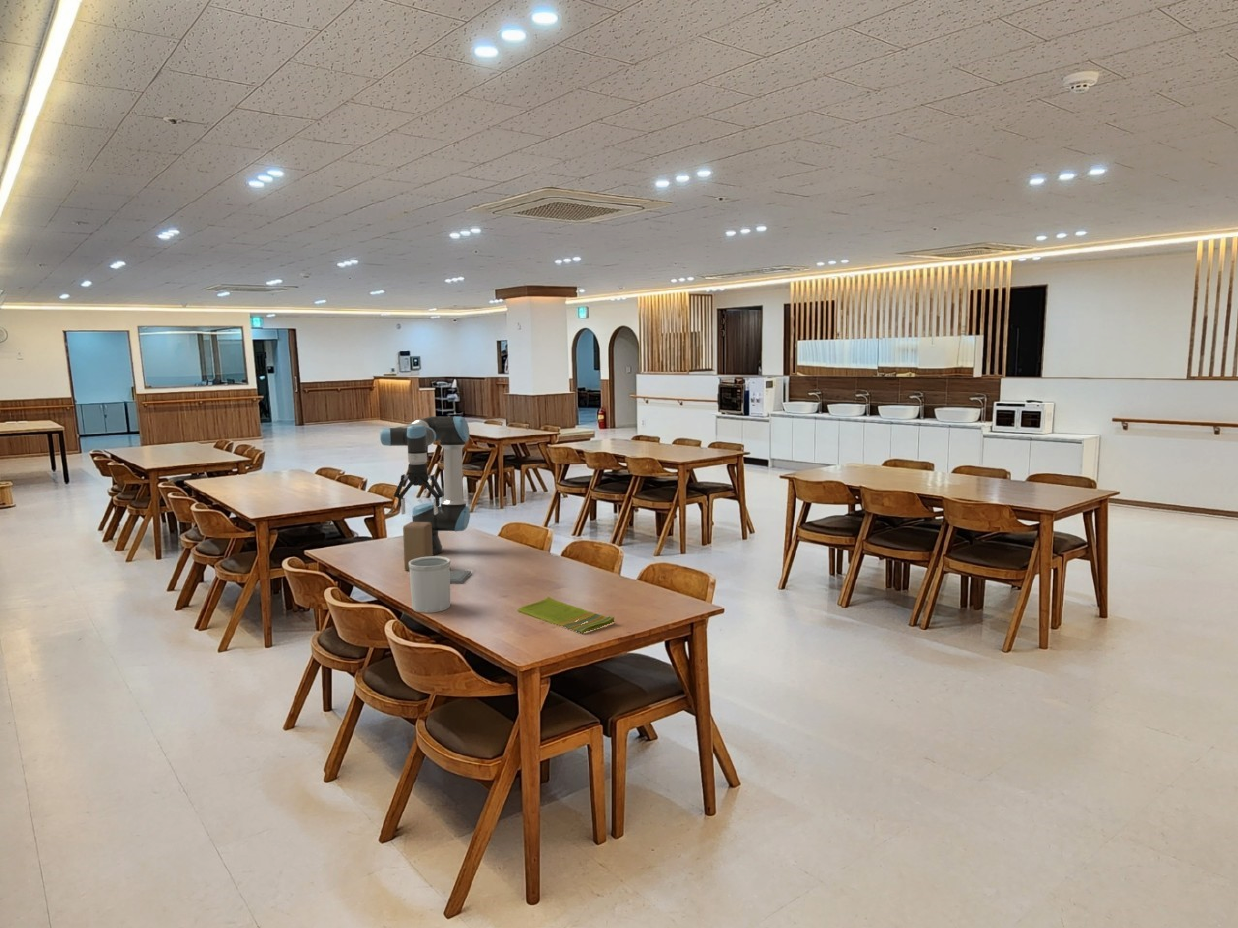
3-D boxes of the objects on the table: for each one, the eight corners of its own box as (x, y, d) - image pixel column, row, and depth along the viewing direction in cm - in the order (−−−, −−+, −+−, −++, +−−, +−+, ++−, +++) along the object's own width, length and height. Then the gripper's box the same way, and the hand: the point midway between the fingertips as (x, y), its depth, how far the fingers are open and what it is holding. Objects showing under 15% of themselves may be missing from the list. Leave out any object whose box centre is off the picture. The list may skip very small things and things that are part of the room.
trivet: (434, 572, 339) (434, 569, 339) (471, 573, 338) (471, 570, 338) (423, 582, 323) (422, 579, 323) (461, 583, 322) (461, 580, 322)
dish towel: (583, 636, 261) (583, 627, 261) (516, 612, 286) (516, 604, 286) (616, 625, 272) (616, 616, 271) (549, 603, 297) (549, 595, 296)
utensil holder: (430, 616, 281) (429, 568, 279) (401, 609, 289) (399, 562, 286) (459, 605, 293) (458, 559, 291) (431, 599, 301) (429, 554, 299)
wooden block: (433, 565, 351) (432, 521, 349) (426, 571, 341) (424, 526, 339) (412, 565, 352) (410, 521, 350) (403, 571, 342) (402, 525, 340)
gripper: (384, 464, 321) (386, 515, 324) (445, 464, 319) (447, 515, 322) (390, 461, 328) (393, 511, 331) (450, 461, 327) (451, 512, 330)
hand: (419, 514), depth 327 cm, fingers open, 13 cm apart
